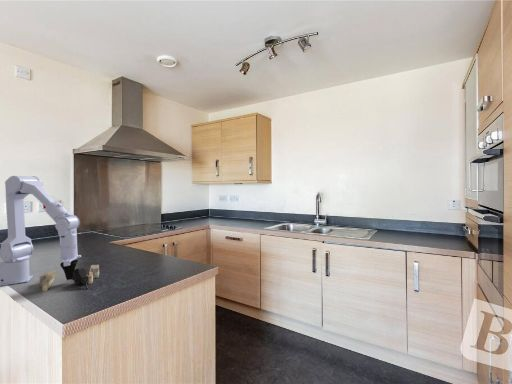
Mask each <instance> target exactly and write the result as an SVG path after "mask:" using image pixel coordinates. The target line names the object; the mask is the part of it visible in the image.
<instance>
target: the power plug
mask: <svg viewBox="0 0 512 384" xmlns="http://www.w3.org/2000/svg"><path fill="white" fill-rule="evenodd" d="M89 272H90V271H89V269H88V268H86V267H79V268H75V271H74V272H73V277H72V279H71V280H72V281H73V282H74V283H75V284H81V283H82V285H84V287H85V289H86V290H88V289H89V287H88V285H89V283H88V276H89V274H90V273H89Z"/></svg>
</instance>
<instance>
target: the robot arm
mask: <svg viewBox="0 0 512 384" xmlns="http://www.w3.org/2000/svg"><path fill="white" fill-rule="evenodd" d="M4 185H5V206H6V207H5V208H6V222H7V223H6V226H7V238H6V239H5V240H3V241H2V242H1V243H0V259H1V261H0V287H1V286H10V285H14V284H23V283H28V282H29V281H30V280H31V279H32V278H33V276H34V275H31V274H30V258H31V256H32V255H33V253H34V245H33V243H32V238H30V237H29V236H27V235H26V225H25V224H26V222H25V204H24V203H25V202H24V200H25V199H26V197H27V196H29V195H32V196H34V198H36V199H37V200H38V201H39V202H40V203H41V204H43V206H44V207H45V209H44V211H45V213H46V214H47V215H48V216H49V217H50V218H51V219H52V220H53V222H55V224H54V227H55V229H56V231H57V232H58V233H57V234H58V236H59V253H60V254H59V255H60V258H59V261H61V262H60V264H59V266H60V267H61V268H62V270H63V272H64V275H65V276H64V277H65V279H66V280H67V281H69V280H70V281H71V280H72V277H73V272H74V271H75V270H76V267H77V264H78V262H79V258H81V257H82V255H81V254H78V231H77V230H78V228H79V227H80V225H81V221H80V218H79V217H78V216H77V215H74V214H72V213H70V212H69V211H68V210H67V209H66V208H65V207H64V204H63V203H61V202H58V201H55V200H54V199H53V198H52V196H51V195H50V194H49V192H48V191H47V190H46V189H45V187H43V186H44V182H43V181H41V179H40V178H39V177H37V176H21V175H19V176H18V175H11V176H9V177H8V178H7V179H6V180H5V182H4Z"/></svg>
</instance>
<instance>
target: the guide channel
mask: <svg viewBox="0 0 512 384" xmlns="http://www.w3.org/2000/svg"><path fill="white" fill-rule="evenodd" d="M89 268H90V269H89V271H88V272H89V273H90V274H89V276H88V285H90V284H93V281H94V279H96V278H97V279H98V278H100V264H91V265H90V267H89ZM55 278H56V270H55V269H53V270H50V271H43V272H42V273H41V274H40V276H39V286H40V288H41V287H42V288H41V290H42V293H43V292H47V291H48V289H49V288H50V287H51V285H52V283H53V281H54V280H55Z"/></svg>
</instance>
